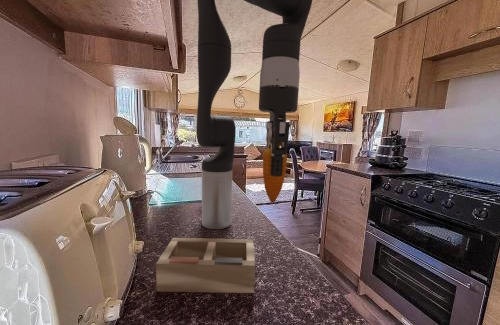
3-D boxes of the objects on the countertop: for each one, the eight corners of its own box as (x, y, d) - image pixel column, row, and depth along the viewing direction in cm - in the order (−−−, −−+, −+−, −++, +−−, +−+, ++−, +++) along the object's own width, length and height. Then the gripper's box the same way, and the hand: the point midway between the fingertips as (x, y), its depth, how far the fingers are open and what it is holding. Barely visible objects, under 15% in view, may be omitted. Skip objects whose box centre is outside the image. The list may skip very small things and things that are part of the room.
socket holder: (173, 260, 50) (172, 235, 50) (252, 262, 51) (253, 237, 50) (156, 291, 41) (155, 261, 40) (253, 292, 41) (255, 262, 41)
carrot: (269, 197, 51) (273, 130, 48) (288, 202, 48) (293, 131, 45) (255, 202, 47) (259, 129, 44) (276, 208, 44) (280, 130, 41)
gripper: (257, 91, 50) (254, 166, 53) (262, 78, 36) (258, 180, 39) (290, 93, 51) (285, 167, 53) (308, 80, 37) (301, 182, 39)
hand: (274, 172), depth 46 cm, fingers closed on carrot, 5 cm apart
